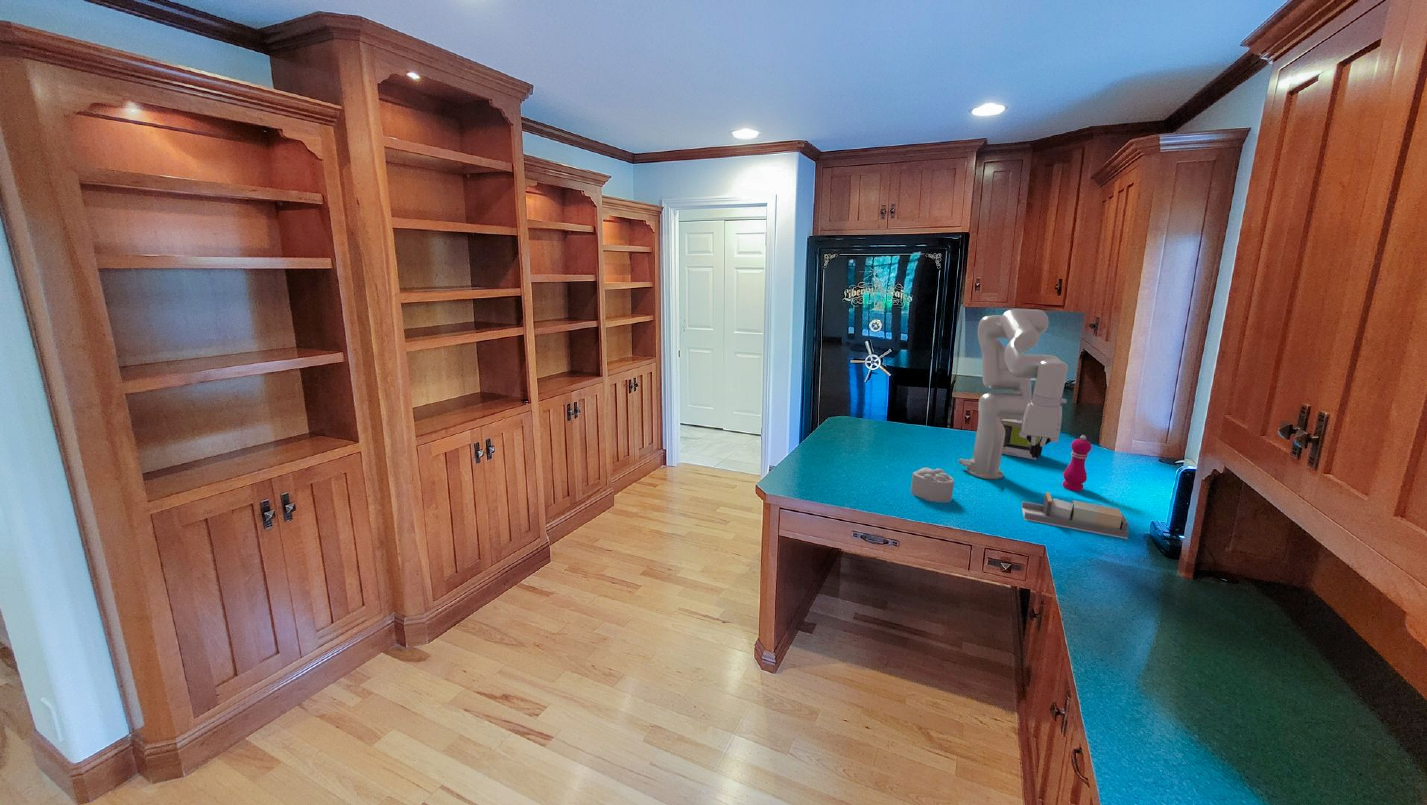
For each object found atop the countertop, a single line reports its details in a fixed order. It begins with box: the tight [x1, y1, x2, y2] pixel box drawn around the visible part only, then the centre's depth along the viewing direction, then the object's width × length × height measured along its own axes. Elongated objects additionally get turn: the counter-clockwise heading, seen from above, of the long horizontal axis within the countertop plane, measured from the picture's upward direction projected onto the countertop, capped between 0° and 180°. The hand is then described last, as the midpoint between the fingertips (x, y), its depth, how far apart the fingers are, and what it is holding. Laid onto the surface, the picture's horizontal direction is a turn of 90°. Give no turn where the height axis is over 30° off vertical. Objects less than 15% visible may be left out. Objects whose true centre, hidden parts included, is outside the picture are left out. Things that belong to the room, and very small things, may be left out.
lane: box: [1021, 500, 1130, 540], centre depth 173 cm, size 27×11×5 cm, turn 66°
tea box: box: [1000, 419, 1041, 461], centre depth 233 cm, size 15×10×15 cm
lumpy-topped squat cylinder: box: [910, 467, 955, 503], centre depth 191 cm, size 10×13×9 cm
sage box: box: [1070, 500, 1098, 525], centre depth 173 cm, size 6×6×6 cm
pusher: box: [1042, 492, 1053, 516], centre depth 176 cm, size 1×7×6 cm, turn 157°
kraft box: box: [1095, 504, 1123, 529], centre depth 170 cm, size 6×6×6 cm
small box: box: [1049, 498, 1074, 520], centre depth 175 cm, size 6×6×5 cm
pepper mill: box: [1062, 434, 1092, 492], centre depth 199 cm, size 7×7×20 cm
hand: (1034, 456), depth 174 cm, fingers closed
